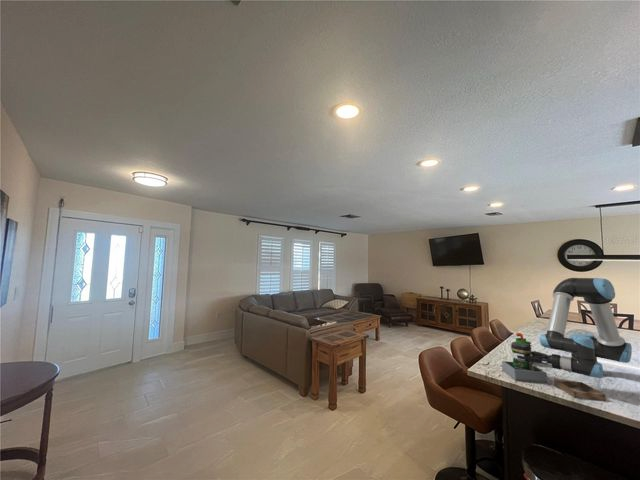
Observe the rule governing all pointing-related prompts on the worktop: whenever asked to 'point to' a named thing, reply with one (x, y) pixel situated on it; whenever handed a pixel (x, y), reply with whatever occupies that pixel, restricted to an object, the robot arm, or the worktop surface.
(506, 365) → the charcoal bin
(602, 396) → the walnut collar
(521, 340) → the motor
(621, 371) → the worktop surface
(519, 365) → the coffee jar
